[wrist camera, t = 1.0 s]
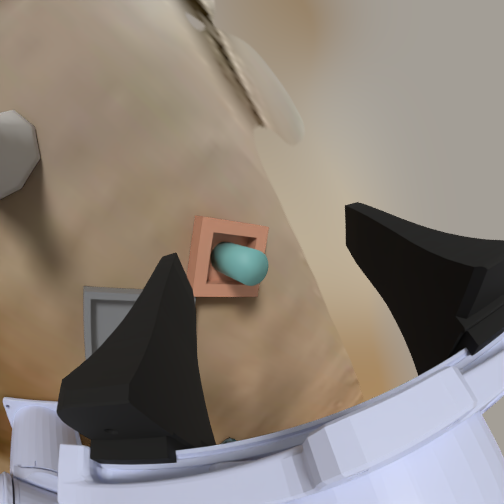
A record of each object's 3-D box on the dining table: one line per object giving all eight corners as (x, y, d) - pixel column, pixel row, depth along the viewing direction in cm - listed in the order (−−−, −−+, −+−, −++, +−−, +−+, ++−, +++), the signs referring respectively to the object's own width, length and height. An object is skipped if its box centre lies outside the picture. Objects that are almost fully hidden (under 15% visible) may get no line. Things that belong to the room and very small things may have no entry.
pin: (235, 273, 28) (265, 286, 24) (208, 271, 27) (234, 285, 23) (240, 243, 28) (270, 251, 24) (212, 240, 27) (240, 248, 22)
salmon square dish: (247, 291, 30) (257, 296, 29) (185, 290, 26) (192, 296, 25) (258, 225, 29) (268, 226, 28) (195, 215, 25) (203, 216, 24)
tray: (181, 380, 27) (187, 388, 26) (88, 385, 22) (89, 393, 20) (190, 290, 26) (196, 295, 25) (83, 286, 21) (83, 291, 20)
